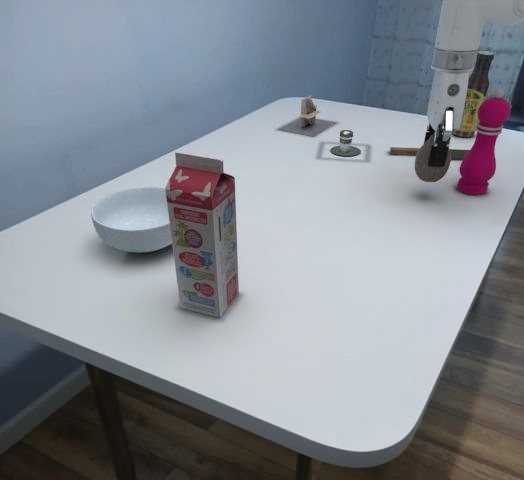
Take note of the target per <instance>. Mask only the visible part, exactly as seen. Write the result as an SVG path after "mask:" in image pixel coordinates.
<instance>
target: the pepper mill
mask: <svg viewBox="0 0 524 480" xmlns="http://www.w3.org/2000/svg"><path fill="white" fill-rule="evenodd" d="M504 96H505V90H503V88H499V89H496V90H495V91H494V93H493V96H492V97H488V98H486V99H485V101H484V102H482V104H481V105H480V107H479V109H478V113H477V114H478V119H479V121H478V123H477V128H476V130H475V132H476V136H475V139H474V142H473V145H472V146H471V148H470V149H469V150H470V151H469V152H468V154H467V155H466V156H465V157H464V159H463V160H461V163H460V166H459V167H458V171H459V174H460V176H461V177H459V178H458V181H457V185H456V190H458V191H459V192H461V193H462V194H466V195H471V196H481V195H485V194H486V193H487V192H488V190H489V189H488V188H489V185H490V183H489V182H488V181H490V180H491V179H493V177H494V176H495V174H496V170H497V160H496V153H495V151H496V150H495V148H496V143H497V140H498V138H499V135H501V134H502V133H503V132H502V131H503V129H504V125H503V124H504V123H506V122H507V120H508V119H509V117H510V115H511V110H512V108H511V104H510V102H509V101H508V100H507V99H506V98H504Z"/></svg>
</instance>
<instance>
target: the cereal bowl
mask: <svg viewBox="0 0 524 480" xmlns="http://www.w3.org/2000/svg"><path fill="white" fill-rule="evenodd" d="M165 188H166V187H161V186H138V187H131V188H130V187H129V188H126V189H121V190H118V191H115V192H114V191H113V192H112V193H109V194H106V195H105V196H103V197H100V199H98V200H97V201H96V202H95V203H94V204H93V205H92V207H91V209H90V217H91V221H92V224H93V226H94V230H95V231H96V234H97V235H98V236H99V238H100V239H101V240H102V241H103V242H104V243H106V245H108V246H110V247H112V248H115V249H116V250H119V251H123V252H127V253H139V254H145V253H153V252H156V251H159V250H160V249H164V248H166V247H168V246H171V245H172V237H171V230H170V222H169V214H168V207H167V199H166V191H165Z"/></svg>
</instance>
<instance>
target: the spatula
mask: <svg viewBox="0 0 524 480" xmlns="http://www.w3.org/2000/svg"><path fill="white" fill-rule="evenodd" d="M420 148H421V147H401V146H400V147H399V146H397V147H395V146H391V147H390V146H389V154H390V155H391V156H392V155H393V156H415V157H416V155H417V153H418V151H419V149H420ZM449 149H450V153H451V161H463V159H464V157H465V156H466V155H467V154H468V152H469V151H470V150H471V149H458V148H457V149H454V148H449Z"/></svg>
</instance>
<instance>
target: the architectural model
mask: <svg viewBox="0 0 524 480" xmlns="http://www.w3.org/2000/svg"><path fill="white" fill-rule="evenodd" d="M300 100H301V103H300V114H299V118H297V119H295V120H293V121H291V122H290V123H287V124H286V125H284V126H281V127H280V128H278V131H283V132H287V133H293V134H298V135H302V136H308V137H316V136H317V135H319V134H320V133H322V132H323V131H325V130H327V129H329V128H331V127H332V126H335V124H337V122H336V121H332V120H331V121H330V120H326V119H320V118H316V116H317V115H319V114H321V111H320V110H317V104H314V101H313V99H312V94H311V95H308V96H306V97H303V98H302V99H300Z"/></svg>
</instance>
